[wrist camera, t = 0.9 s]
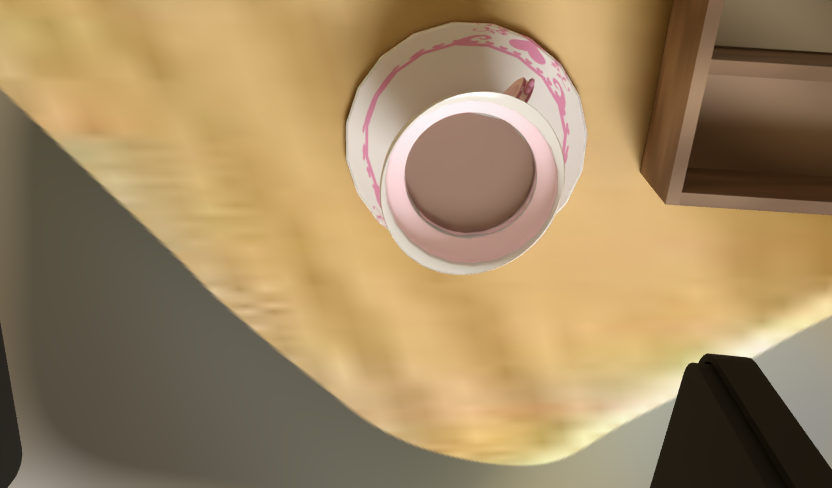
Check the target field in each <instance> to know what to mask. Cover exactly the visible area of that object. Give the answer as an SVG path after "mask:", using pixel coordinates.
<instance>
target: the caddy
mask: <svg viewBox="0 0 832 488" xmlns="http://www.w3.org/2000/svg"><path fill="white" fill-rule="evenodd" d="M640 173H641V174H642V175H643V177H644V178H645V179H646V181H647V182H648V183H649V184H650V186H651V187H652V188H653V189H654V191H655V192H656V193H657V194H658V196H659V197H660V198H661V199H662V201H663V202H664V203H665V204H667V205H683V206H698V207H713V208H728V209H744V210H759V211H774V212H790V213H805V214H820V215H832V0H674V1H673V6H672V11H671V16H670V22H669V27H668V32H667V37H666V42H665V47H664V52H663V58H662V63H661V68H660V73H659V78H658V83H657V88H656V94H655V99H654V104H653V109H652V114H651V119H650V124H649V130H648V135H647V140H646V145H645V150H644V155H643V161H642V166H641V171H640Z"/></svg>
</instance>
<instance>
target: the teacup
mask: <svg viewBox="0 0 832 488" xmlns="http://www.w3.org/2000/svg"><path fill="white" fill-rule="evenodd" d="M586 141H587V129H586V124H585V119H584V114H583V109H582V104H581V99H580V96H579V94H578V92H577V91H576V89H575V87H574V86H573V84H572V82H571V81H570V79H569V77H568V75H567V74H566V72H565V70H564V69H563V67H562V65H561V64H560V63H559V62H558V61H557V60H556V59H555V58H554V57H552V56H551V55H550V54H549V53H548V52H546V51H545V50H544V49H543V48H542V47H541V46H539V45H538V44H537V43H536V42H535V41H533V40H532V39H531V38H530V37H527V36H525V35H522V34H519V33H517V32H514V31H512V30H509V29H506V28H504V27H501V26H499V25H496V24H493V23H473V22H450V23H447V24H443V25H440V26H436V27H433V28H430V29H426V30H423V31H419V32H416V33H413V34H412V35H410V36H409V37H408V38H406V39H405V40H403V41H402V42H400V43H399V44H398V45H396V46H395V47H393V48H392V49H390V50H389V51H388V52H386V53H385V54H383V55H382V56H381V57H380V58H379V60H378V61H377V62H376V64H375V65H374V66H373V68H372V69H371V70H370V72H369V73H368V74H367V76H366V77H365V78H364V80H363V81H362V82H361V84H360V85H359V87H358V88H357V91H356V95H355V98H354V101H353V104H352V107H351V110H350V113H349V116H348V119H347V122H346V161H347V164H348V167H349V170H350V173H351V176H352V179H353V182H354V185H355V188H356V191H357V194H358V195H359V197H360V198H361V199H362V201H363V202H364V203H365V205H366V206H367V207H368V209H369V210H370V211H371V213H372V214H373V215H374V217H375V218H376V219H377V221H378V222H379V223H380V224H382V225H383V226H384V227H386V228H387V229H388V230H389V232H390V234H391V235H392V237H393V239H394V240H395V242H396V243H397V244H398V246H399V247H400V248H401V249H402V250H403V251H404V252H405V253H406V254H407V255H408V256H409V257H410V258H412V259H413V260H414V261H416V262H417V263H419V264H421V265H422V266H424V267H427V268H429V269H431V270H434V271H437V272H441V273H446V274H454V275H469V274H477V273H482V272H487V271H490V270H493V269H496V268H499V267H501V266H504V265H506V264H508V263H510V262H511V261H513V260H515V259H516V258H518V257H520V256H521V255H522V254H524V253H525V252H526V251H527V250H529V249H530V248H531V247H532V246H533V245H534V244H535V243H536V242H537V241H538V240H539V239H540V238H541V237H542V235H543V234H544V233H545V232H546V230H547V229H548V227H549V226H550V224H551V222H552V221H553V219H554V217H555V215H556V214H557V213H558V212H559V211H560V210H561V209H562V208H563V207H564V206H565V205H566V203H567V202H568V199H569V197H570V195H571V193H572V191H573V189H574V187H575V185H576V183H577V181H578V179H579V177H580V175H581V173H582V170H583V163H584V155H585V148H586Z"/></svg>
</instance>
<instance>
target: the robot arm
mask: <svg viewBox="0 0 832 488" xmlns="http://www.w3.org/2000/svg"><path fill="white" fill-rule="evenodd" d="M21 460H22V447H21V441H20V436H19V429H18V423H17V417H16V412H15V406H14V400H13V394H12V389H11V382H10V377H9V371H8V365H7V359H6V354H5V347H4V341H3V336H2V330H1V324H0V488H8V486H9V485H10V484H11V482H12V481H13V480H14V478H15V477H16V475H17V473H18V471H19V468H20V465H21ZM650 488H832V469H831V468H830V466H829V465H828V464H827V462H826V461H825V459H824V458H823V456H822V455H821V454H820V452H819V451H818V449H817V448H816V447H815V445H814V444H813V442H812V441H811V440H810V438H809V437H808V435H807V434H806V433H805V431H804V430H803V428H802V427H801V426H800V424H799V423H798V422H797V420H796V419H795V417H794V416H793V414H792V413H791V412H790V410H789V409H788V407H787V406H786V405H785V403H784V402H783V400H782V399H781V397H780V396H779V395H778V393H777V392H776V391H775V389H774V388H773V386H772V385H771V383H770V382H769V381H768V379H767V378H766V376H765V375H764V374H763V372H762V371H761V369H760V368H759V367H758V365H757V364H756V362H754V361H753V360H752V359H751V358H747V357H738V356H728V355H718V354H705V355H703V357H702V358H701V359H700V361H699V363H690V364H688V366H687V367H686V369H685V372H684V375H683V378H682V381H681V385H680V388H679V392H678V395H677V398H676V402H675V405H674V408H673V412H672V415H671V419H670V422H669V425H668V429H667V432H666V435H665V439H664V442H663V446H662V449H661V452H660V456H659V459H658V463H657V466H656V469H655V473H654V476H653V480H652V483H651V486H650Z"/></svg>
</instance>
